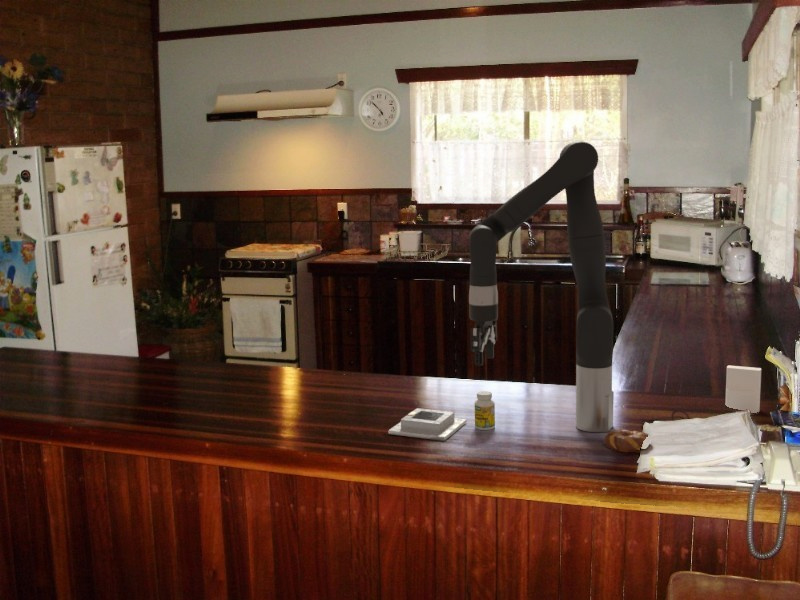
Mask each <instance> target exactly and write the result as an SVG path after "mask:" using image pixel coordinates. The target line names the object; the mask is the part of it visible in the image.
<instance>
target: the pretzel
mask: <svg viewBox="0 0 800 600" xmlns="http://www.w3.org/2000/svg"><path fill="white" fill-rule="evenodd" d="M648 435H649V433H646V432H642V431H638V430H633V431H631V430H628V429H619V430H618V429H616V430H615V429H613V430H610V431H609V432H607V433H606V434H605V435H604V436H603V444H604V445H605V447H606V448H608V449H611V450H616V451H618V452H621V453H632V452H636V451H637V450H639V451H641V450H640V448H641V447H642V444H643V441H644V440H645V439H646V437H648ZM635 450H636V451H635Z"/></svg>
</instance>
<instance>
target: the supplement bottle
mask: <svg viewBox="0 0 800 600" xmlns="http://www.w3.org/2000/svg"><path fill="white" fill-rule="evenodd" d="M492 394H493V393H492V391H488V390H487V391H485V390H483V391H481V390H479V391H477V392H476V400H475V401H474V427H475V429H477V430H479V431H490V430H493V429H495V427H496V414H495V412H496V410H495V409H496V408H495V407H496V405H495V403H496V402H495V401H494V400H493V395H492Z"/></svg>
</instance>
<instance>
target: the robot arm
mask: <svg viewBox="0 0 800 600" xmlns="http://www.w3.org/2000/svg"><path fill="white" fill-rule="evenodd" d="M598 163H599V155H598V151H597V149H596V148H595V146H594V145H592V144H591V143H589V142H587V141H583V140H577V141H572V142H569V143H568V144H566V145H565V146H564V147H563V148H562V150H561V151H560V154H559V158H558V159H557V160H556V161H555V162H554V163H553V164H552V165H551V167H549V169H547V170H546V171H545V172H544V173H543V174H542V175H540V177H538V178H537V179H535V180H534V181H533V182H531V183H530V184H528V185H527V186H525V187H524V188H522V189H521V190H519V191H518V192H517V193H515V195H512V196H511V197H510V198H509V199H508V200H507V201H506V202H504V204H502V205H500V207H499V208H498V209H497V210H496V211H495V212H494V213H492V214H491V215H489V216H488V217H487V218H484V219H483V220H482V221H481V222H479V223H478V224H477V225H476V226H474V227H473V229H472V230H471V231H470V233H469V236H468V241H469V243H468V244H469V258H470V267H469V292H468V304H469V305H468V309H469V311H468V312H469V313H468V314H469V316H468V317H469V319H470V320H471V321H472V322H473V321H474V322H475V326H474V327H471V328H470V339H469V340H470V341H469V343H470V346H469V348H470V349H469V350H470V351H471V352H473V362H474V363H473V364H474V366H477V367H482V366H483V365H484V354H485V359H488V360H490V359H494V357H495V344H496V341H498V324H497V322H498V321H497V320H498V318H499V291H498V284H497V281H498V280H497V279H498V277H497V276H498V275H497V265H496V262H497V246H498V245H497V243H499V241H501V240H502V239H504V238H505V236H507V235H508V234H509V233H511V232H514V231H515V230H517V229H519V228H520V227H521V226H522V225H523V224H524V223H525V222H527V221H528V220H530V218H531V217H533V216H534V215H535V214H536V213H537V212H538V211H540V209H542V208H543V207H544V206H545V205H546V204H548V202H549V201H551V200H552V199H553V198H554V197H556V196H557V195H558V194H559V193H561V192H563V191H565V197H566V227H567V243H568V250H569V257H570V258H569V259H570V262H571V266H572V270H573V274H574V277H575V278H574V279H575V281H576V282H575V283H576V290H577V316H576V353H575V355H576V356H575V357H576V365H575V367H576V369H575V370H576V371H575V373H576V375H575V376H576V377H575V379H576V380H575V381H576V382H575V387H576V389H575V428H577V429H578V430H580V431H582V432H588V433H589V432H591V433H603V432H605V433H606V432H607V433H609V432H610V431H611V429H612V427H614V397H615V395H614V391H613V390H612V389H613V357H614V356H613V355H614V353H613V352H614V319H613V313H612V310H611V307H610V302H609V298H608V292H607V287H606V268H607V266H606V264H607V263H606V262H607V255H606V240H605V232H604V231H605V230H604V225H603V221H602V220H603V219H602V216H601V212H600V209H599V206H598V202H597V199H596V193H595V170H596V168H597V166H598ZM484 350H485V353H484Z"/></svg>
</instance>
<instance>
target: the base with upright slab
mask: <svg viewBox="0 0 800 600" xmlns="http://www.w3.org/2000/svg"><path fill="white" fill-rule="evenodd" d="M725 380H726V381H725V384H726V385H725V405H726V406H727V407H729V408H733V409H738V410H746V409H748V410H750V411H751V413H756V414H758V413H759V412H760V410H761V409H760V405H761V403H760V402H761V386H762V385H761V384H762V368H761V367H753V366H751V367H750V366H743V365H742V366H740V365H729V364H728V365H727V366H726V379H725ZM725 405H724V406H725ZM757 412H758V413H757Z"/></svg>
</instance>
